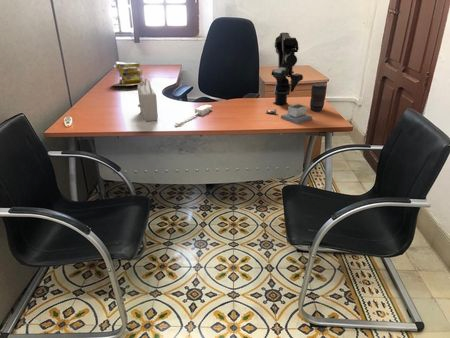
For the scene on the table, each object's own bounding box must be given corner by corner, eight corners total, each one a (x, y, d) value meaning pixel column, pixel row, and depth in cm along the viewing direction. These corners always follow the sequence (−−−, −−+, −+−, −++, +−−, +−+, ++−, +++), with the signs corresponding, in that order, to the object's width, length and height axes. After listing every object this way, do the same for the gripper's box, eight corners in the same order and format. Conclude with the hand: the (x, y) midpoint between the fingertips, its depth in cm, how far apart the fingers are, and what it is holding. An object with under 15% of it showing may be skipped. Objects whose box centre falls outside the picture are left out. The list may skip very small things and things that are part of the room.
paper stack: (112, 82, 258) (109, 59, 250) (146, 80, 264) (144, 58, 256) (111, 91, 237) (107, 66, 229) (148, 89, 242) (145, 64, 235)
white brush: (172, 127, 181) (171, 121, 179) (205, 108, 205) (205, 103, 203) (179, 129, 179) (179, 123, 177) (212, 109, 203) (212, 104, 201)
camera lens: (306, 108, 206) (309, 83, 199) (318, 107, 209) (321, 82, 202) (314, 112, 200) (317, 86, 193) (326, 111, 202) (329, 85, 195)
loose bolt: (266, 113, 198) (266, 109, 196) (266, 112, 200) (267, 108, 199) (275, 114, 196) (275, 110, 195) (276, 113, 199) (276, 108, 197)
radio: (137, 111, 201) (132, 67, 189) (151, 109, 204) (147, 66, 192) (143, 123, 183) (138, 76, 171) (159, 122, 185) (154, 74, 174)
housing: (287, 115, 190) (288, 106, 187) (297, 112, 194) (298, 103, 192) (296, 118, 185) (296, 109, 183) (305, 115, 190) (306, 106, 188)
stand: (280, 118, 191) (281, 114, 190) (295, 113, 198) (295, 110, 197) (297, 124, 183) (298, 120, 182) (312, 119, 190) (312, 115, 189)
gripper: (265, 61, 192) (263, 89, 199) (291, 66, 179) (288, 96, 186) (279, 58, 198) (277, 85, 205) (305, 64, 185) (301, 92, 193)
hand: (285, 90), depth 197 cm, fingers open, 9 cm apart
